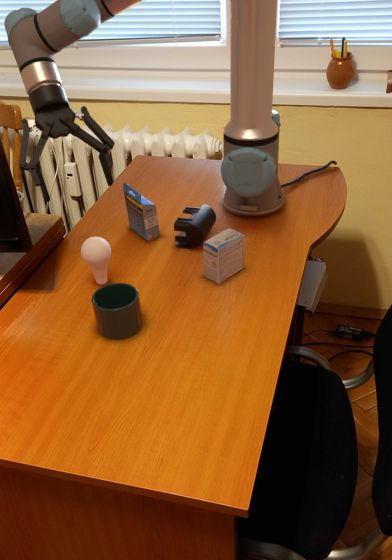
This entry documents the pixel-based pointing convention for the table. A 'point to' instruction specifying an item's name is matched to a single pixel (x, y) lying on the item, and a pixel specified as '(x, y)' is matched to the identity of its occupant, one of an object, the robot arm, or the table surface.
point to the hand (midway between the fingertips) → (80, 192)
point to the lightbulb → (97, 257)
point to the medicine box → (223, 255)
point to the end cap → (194, 226)
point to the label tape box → (141, 213)
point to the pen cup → (117, 311)
